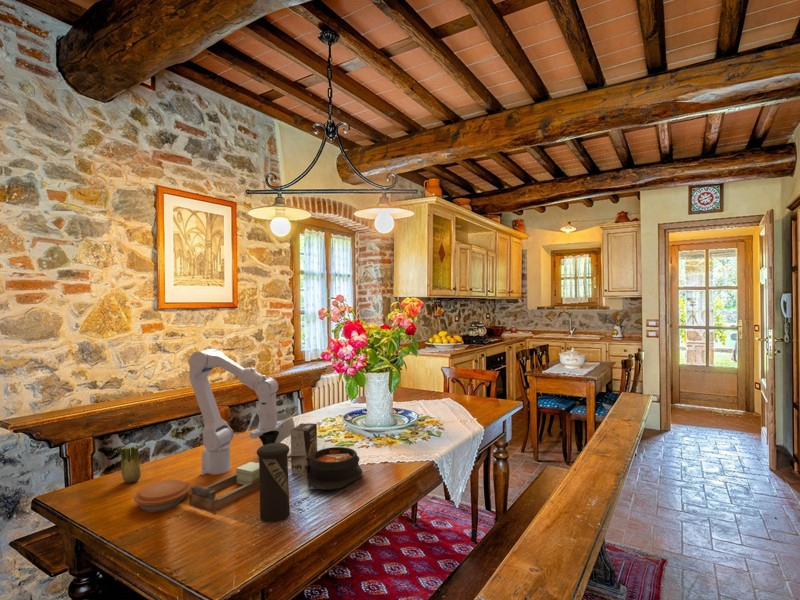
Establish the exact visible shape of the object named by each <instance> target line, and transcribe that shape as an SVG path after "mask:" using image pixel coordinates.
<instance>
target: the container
mask: <svg viewBox="0 0 800 600" xmlns="http://www.w3.org/2000/svg"><path fill="white" fill-rule="evenodd" d="M289 450H290V446H289V445H288V444H286V443H283V442H281V443H271V444H266V445H263V444H262V446H261V445H260V446H259V448H257V449H256V455H257V457H258V464H259V477H260V487H259V515H260V516H259V518H260V520H261V521H262V522H265V523H270V524H271V523H278V522H282V521H284V520H286V519H288V518H289V516H290V513H291V508H290V484H289V483H290V482H289V464H288V461H289V460H288V457H287V454H288V452H289Z"/></svg>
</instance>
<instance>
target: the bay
mask: <svg viewBox="0 0 800 600" xmlns="http://www.w3.org/2000/svg"><path fill="white" fill-rule="evenodd" d="M236 478H237V473H233V474H231V475H229V476H226V477H224V478H222V479H220V480H218V481H216V482H213V483H211V484H209V485H206V486H202V485H197V484H195V485H192V486H191V489H190V491H189V492H188V500H189V501H188V502H189V507H191V506H192V508H194V509H198V510H200V511H203V512H206V513H210V514H213V515H216V513H215V511H216V510H218V509H220V508H223V507H224V506H226V505H229V504H230V503H232V502H234V501H235V500H238V499H240V498H241V497H244V496H245V495H248V494H249V493H252V492H253V491H256V490H257V489H260V478H258V479H256V480H254V481H252V482H250V483H248V484H246V485H242V486H240V487H237V488H235V489H233V490H232V491H229V492H227V493H225V494H224V495H222V496H219V497H218V498H217V497H216V493H217V492H219V491H221V490H223V489H226V488H227V487H229V486H232V485H234V484H237V481H236ZM190 504H192V505H190ZM193 505H196V506H193ZM197 506H199V507H197ZM200 507H201V508H200ZM203 508H204V509H203ZM207 509H209V510H212V511H214V512H212V511H209V510H207Z"/></svg>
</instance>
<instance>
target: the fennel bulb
mask: <svg viewBox="0 0 800 600" xmlns="http://www.w3.org/2000/svg"><path fill="white" fill-rule="evenodd" d="M120 458H121V459H120V470H121V475H122V479H123V482H124V483H125V484H132V483H135V482H138V480H140V478H141V475H142V474H141V473H142V472H141V465H140V462H139V447H138V446H134V445H132V446H131V447H130V446H129V447H121V448H120Z"/></svg>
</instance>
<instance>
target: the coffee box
mask: <svg viewBox="0 0 800 600" xmlns="http://www.w3.org/2000/svg"><path fill="white" fill-rule="evenodd" d="M290 450H291V456H290V458H291V459H290V463H291V464H290V466H291V468H290V469H291V470H290V471H291V474H292V475H303V476H304V475H306V476H307V474H308V472H309V471H310V470H311V469H312V468H311V466H310V465H309V461H310V460H311V458H312V455H313V454H314V453H315V452H317V451H318V427H317V423H307V422H306V423H303V422H302V423H299V424H298V425H296V426H295V428H294V429H292V430H291V435H290Z"/></svg>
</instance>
